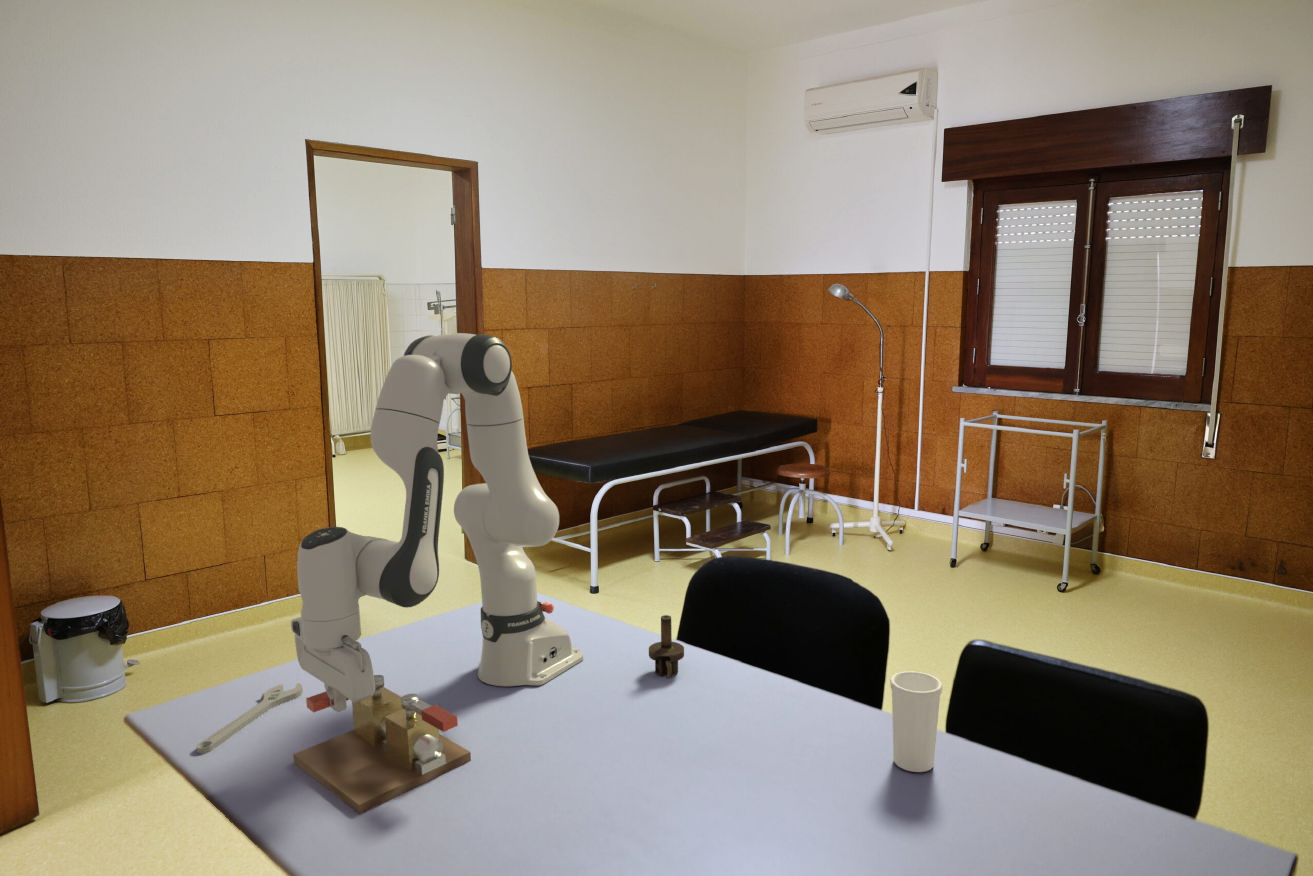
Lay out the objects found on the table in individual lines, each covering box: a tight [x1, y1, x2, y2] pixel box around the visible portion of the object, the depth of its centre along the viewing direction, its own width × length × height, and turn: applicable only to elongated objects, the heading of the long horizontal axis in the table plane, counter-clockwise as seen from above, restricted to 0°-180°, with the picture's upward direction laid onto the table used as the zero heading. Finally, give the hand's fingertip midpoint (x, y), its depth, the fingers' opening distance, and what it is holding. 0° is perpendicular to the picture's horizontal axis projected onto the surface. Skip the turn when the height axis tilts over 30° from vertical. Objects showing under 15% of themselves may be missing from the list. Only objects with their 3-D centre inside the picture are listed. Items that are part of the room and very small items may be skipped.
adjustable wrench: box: [196, 683, 304, 754], centre depth 159 cm, size 25×6×2 cm, turn 161°
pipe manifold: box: [351, 686, 459, 775], centre depth 142 cm, size 6×28×10 cm, turn 47°
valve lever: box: [305, 674, 385, 713], centre depth 144 cm, size 13×3×2 cm, turn 135°
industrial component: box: [648, 614, 685, 679], centre depth 175 cm, size 9×7×12 cm
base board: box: [292, 729, 472, 814], centre depth 143 cm, size 20×22×2 cm
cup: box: [889, 670, 944, 773], centre depth 138 cm, size 8×8×14 cm
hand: (338, 708), depth 140 cm, fingers closed
